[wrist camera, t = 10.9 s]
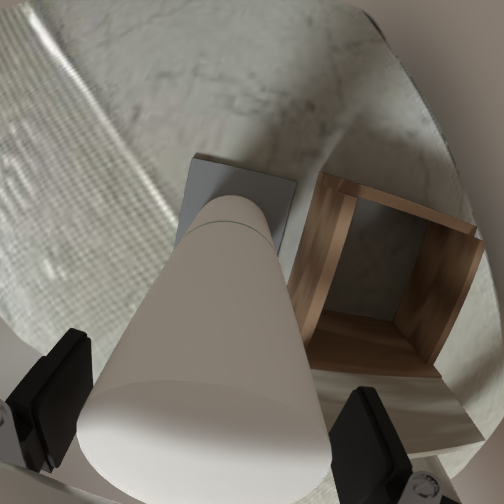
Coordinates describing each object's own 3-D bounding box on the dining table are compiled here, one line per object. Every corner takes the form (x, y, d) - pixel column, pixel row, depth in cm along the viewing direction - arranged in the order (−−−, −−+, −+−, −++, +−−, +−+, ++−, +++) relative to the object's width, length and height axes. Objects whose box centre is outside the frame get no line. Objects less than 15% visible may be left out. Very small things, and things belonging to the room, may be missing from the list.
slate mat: (265, 294, 34) (265, 296, 33) (170, 274, 33) (169, 276, 32) (295, 181, 30) (296, 182, 30) (192, 157, 29) (191, 157, 29)
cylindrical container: (182, 248, 31) (69, 472, 8) (213, 182, 29) (98, 325, 6) (247, 278, 32) (256, 529, 9) (281, 215, 31) (385, 426, 7)
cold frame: (395, 329, 36) (480, 447, 17) (279, 310, 34) (314, 465, 15) (439, 211, 32) (577, 275, 12) (319, 171, 30) (434, 210, 11)
